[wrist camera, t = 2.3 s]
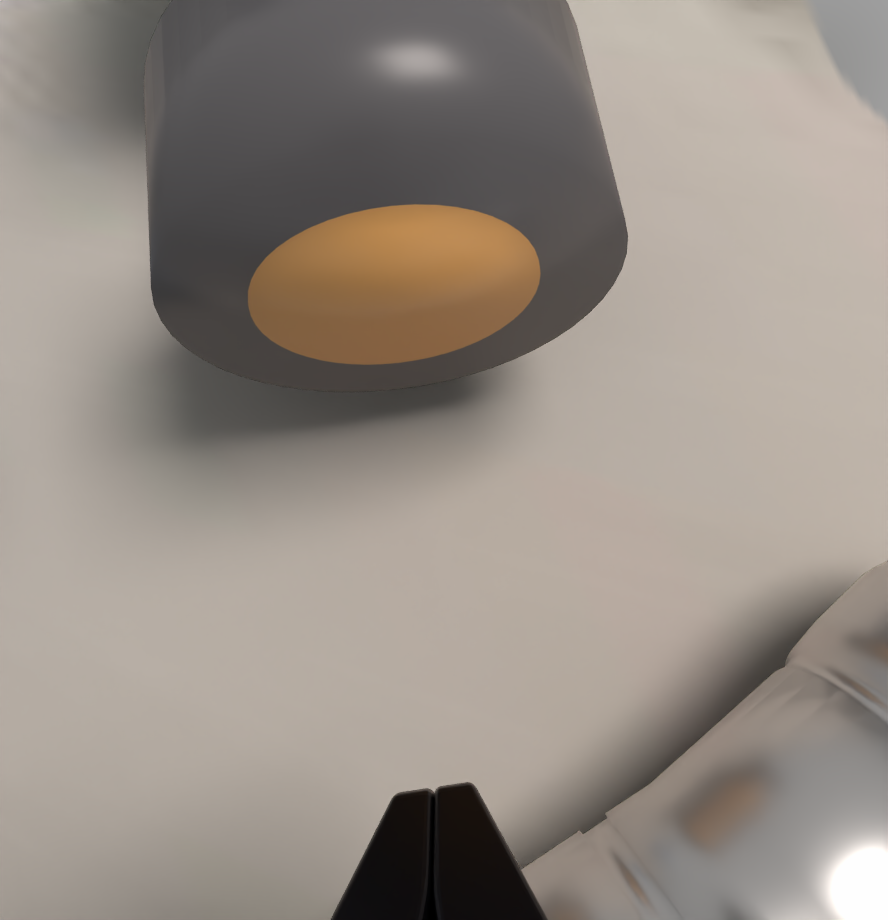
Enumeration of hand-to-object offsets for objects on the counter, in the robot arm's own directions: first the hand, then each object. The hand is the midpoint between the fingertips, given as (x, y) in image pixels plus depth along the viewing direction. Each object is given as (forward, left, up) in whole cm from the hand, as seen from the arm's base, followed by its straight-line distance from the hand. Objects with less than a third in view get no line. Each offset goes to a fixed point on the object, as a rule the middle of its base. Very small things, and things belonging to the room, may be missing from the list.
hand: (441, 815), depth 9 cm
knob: (+12, +8, -7) cm, 16 cm away
